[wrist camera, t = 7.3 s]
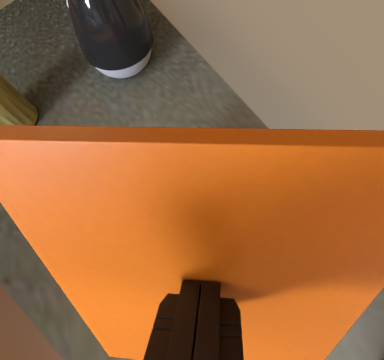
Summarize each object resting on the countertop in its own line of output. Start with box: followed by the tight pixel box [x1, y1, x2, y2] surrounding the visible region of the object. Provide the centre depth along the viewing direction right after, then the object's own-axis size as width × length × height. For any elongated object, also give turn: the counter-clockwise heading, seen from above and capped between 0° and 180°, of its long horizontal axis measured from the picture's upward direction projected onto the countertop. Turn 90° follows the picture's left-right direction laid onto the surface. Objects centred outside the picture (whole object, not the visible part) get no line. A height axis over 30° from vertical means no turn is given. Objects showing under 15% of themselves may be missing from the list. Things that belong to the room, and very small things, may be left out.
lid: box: [0, 125, 384, 360], centre depth 12 cm, size 16×13×1 cm
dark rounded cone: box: [67, 0, 153, 78], centre depth 35 cm, size 10×10×15 cm
